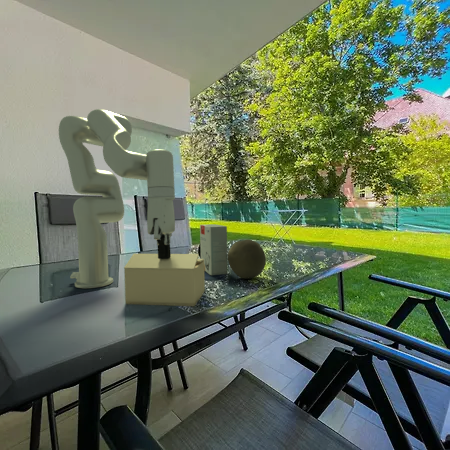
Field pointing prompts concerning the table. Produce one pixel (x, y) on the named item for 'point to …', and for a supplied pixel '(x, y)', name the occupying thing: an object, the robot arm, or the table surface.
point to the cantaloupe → (246, 259)
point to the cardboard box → (165, 286)
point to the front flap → (162, 262)
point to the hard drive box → (214, 248)
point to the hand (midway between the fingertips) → (164, 258)
